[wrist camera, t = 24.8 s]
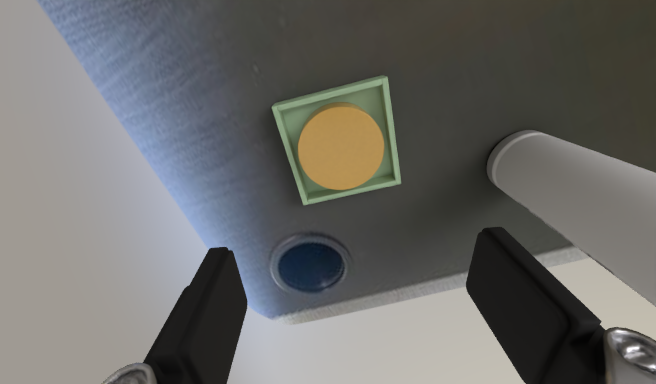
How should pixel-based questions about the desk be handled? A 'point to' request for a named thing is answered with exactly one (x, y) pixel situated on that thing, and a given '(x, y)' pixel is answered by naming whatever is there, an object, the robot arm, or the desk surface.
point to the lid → (340, 146)
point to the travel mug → (585, 201)
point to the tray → (361, 93)
